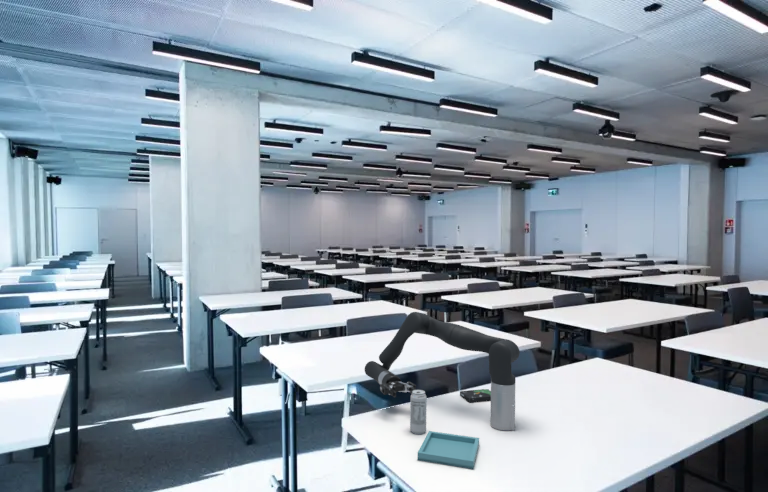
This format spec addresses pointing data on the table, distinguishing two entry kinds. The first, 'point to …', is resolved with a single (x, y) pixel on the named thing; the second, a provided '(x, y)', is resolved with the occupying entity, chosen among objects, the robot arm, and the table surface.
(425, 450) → the tray
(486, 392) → the disk drive
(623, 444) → the table surface
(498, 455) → the table surface
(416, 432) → the energy drink can
